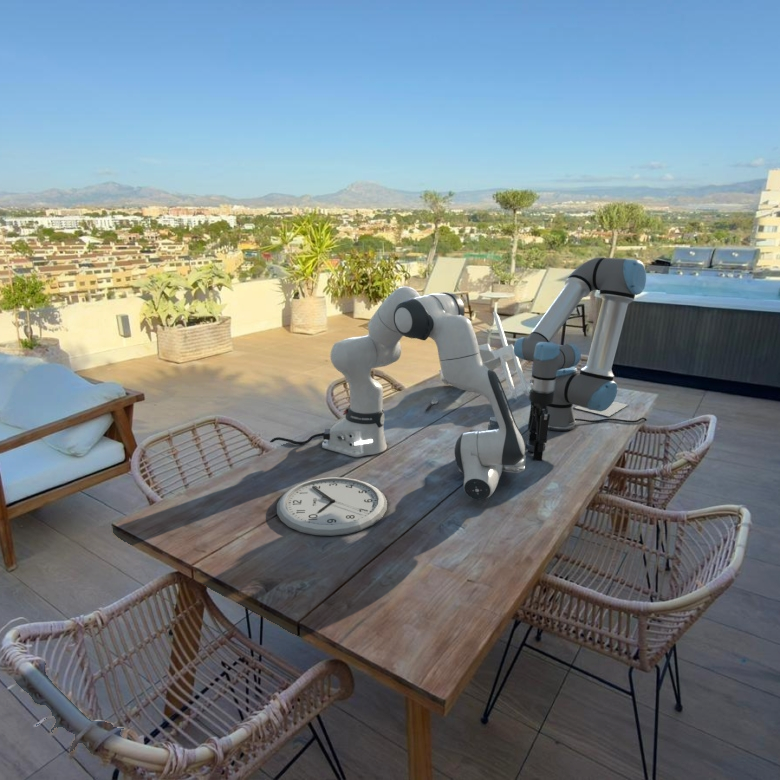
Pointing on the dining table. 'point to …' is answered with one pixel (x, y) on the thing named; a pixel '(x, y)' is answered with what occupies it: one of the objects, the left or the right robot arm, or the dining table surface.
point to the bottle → (493, 424)
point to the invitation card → (609, 411)
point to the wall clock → (331, 506)
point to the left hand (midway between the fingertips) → (495, 448)
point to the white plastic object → (500, 359)
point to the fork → (432, 403)
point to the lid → (532, 445)
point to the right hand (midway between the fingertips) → (534, 455)
